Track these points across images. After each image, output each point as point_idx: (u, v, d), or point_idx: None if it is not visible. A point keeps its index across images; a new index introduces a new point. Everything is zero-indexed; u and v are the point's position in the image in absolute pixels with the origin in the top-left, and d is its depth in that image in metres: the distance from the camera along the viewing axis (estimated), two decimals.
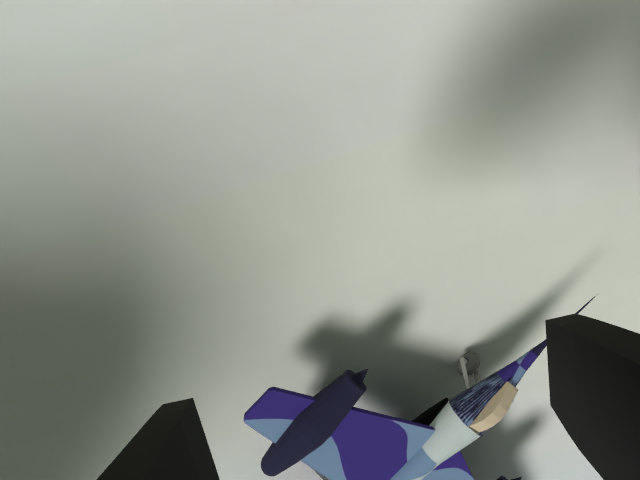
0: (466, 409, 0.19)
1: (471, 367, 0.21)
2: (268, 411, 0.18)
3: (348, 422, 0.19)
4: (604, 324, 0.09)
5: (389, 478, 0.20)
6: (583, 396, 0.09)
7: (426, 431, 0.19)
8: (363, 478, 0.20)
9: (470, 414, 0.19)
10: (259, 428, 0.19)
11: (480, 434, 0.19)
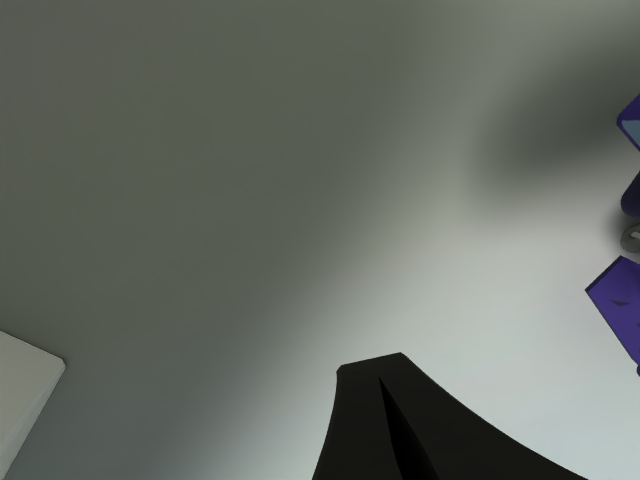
0: None
1: None
2: None
3: None
4: (410, 367, 0.09)
5: None
6: (392, 439, 0.09)
7: None
8: None
9: None
10: (639, 136, 0.13)
11: None
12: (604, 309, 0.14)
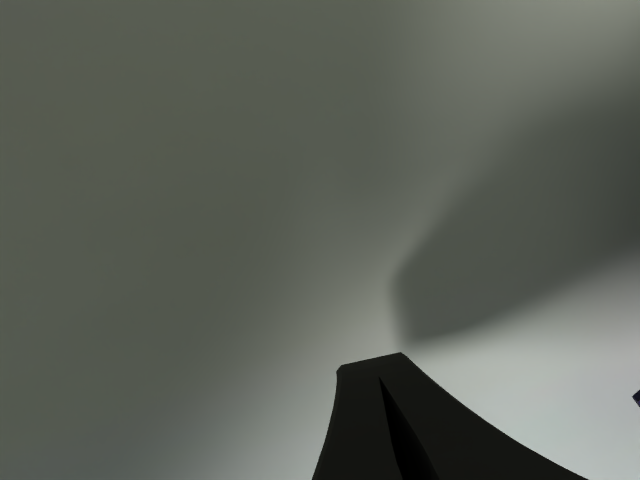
0: None
1: None
2: None
3: None
4: (410, 367, 0.09)
5: None
6: (392, 439, 0.09)
7: None
8: None
9: None
10: None
11: None
12: None
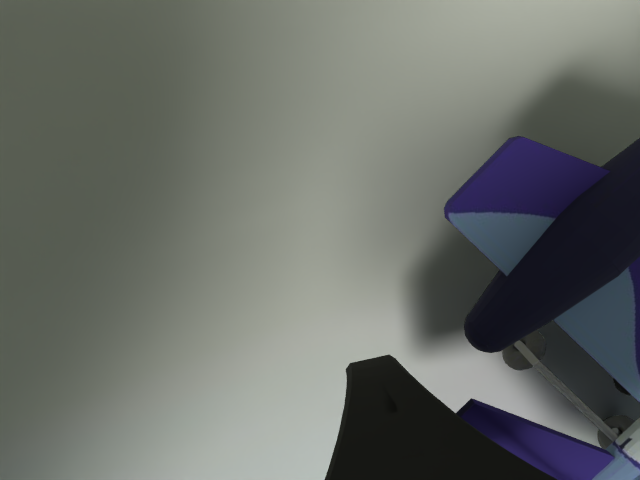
0: None
1: None
2: (505, 193, 0.08)
3: None
4: (398, 371, 0.09)
5: None
6: None
7: None
8: None
9: None
10: (478, 236, 0.08)
11: None
12: None
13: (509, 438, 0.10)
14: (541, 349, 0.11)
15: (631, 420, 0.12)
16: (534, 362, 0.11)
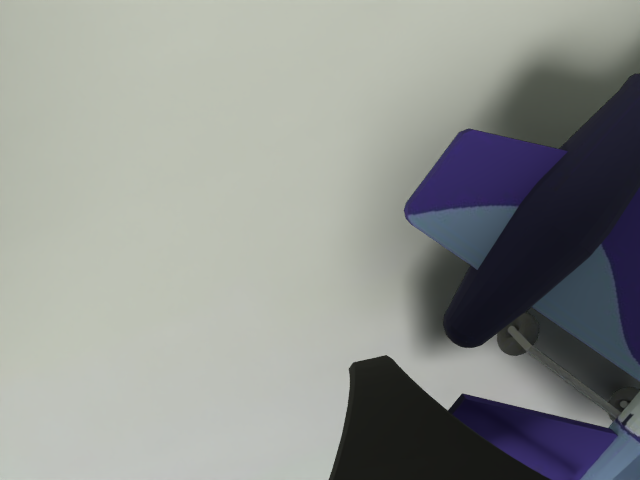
0: None
1: None
2: (462, 188, 0.08)
3: None
4: (394, 371, 0.09)
5: None
6: None
7: None
8: None
9: None
10: (441, 234, 0.08)
11: None
12: None
13: (506, 429, 0.10)
14: (533, 332, 0.11)
15: (639, 391, 0.12)
16: (527, 347, 0.11)
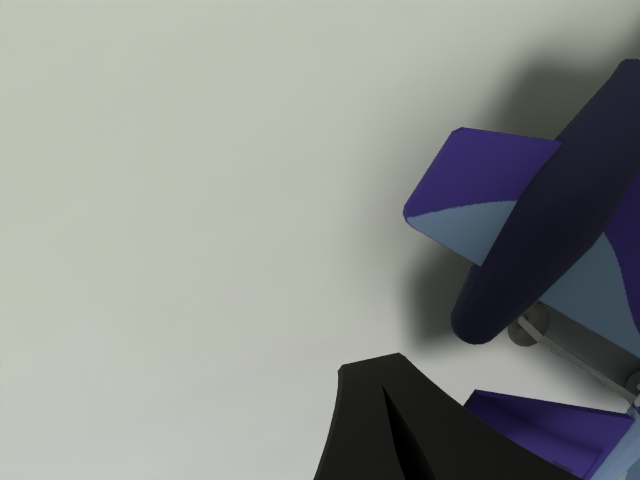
0: None
1: None
2: (459, 187, 0.08)
3: None
4: (408, 368, 0.09)
5: None
6: None
7: None
8: None
9: None
10: (441, 234, 0.08)
11: None
12: None
13: (522, 421, 0.10)
14: (544, 323, 0.11)
15: None
16: (538, 338, 0.11)
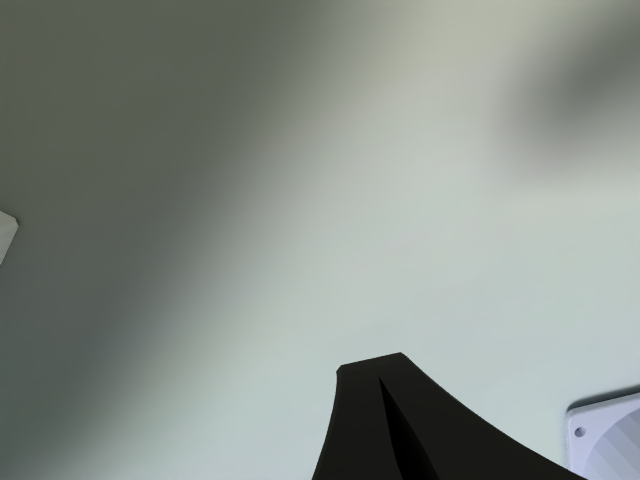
0: None
1: None
2: None
3: None
4: (410, 368, 0.09)
5: None
6: (392, 439, 0.09)
7: None
8: None
9: None
10: None
11: None
12: None
13: None
14: None
15: None
16: None
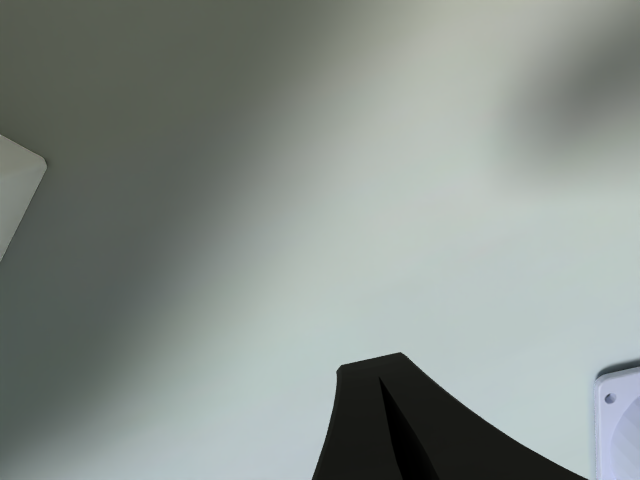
0: None
1: None
2: None
3: None
4: (410, 367, 0.09)
5: None
6: (392, 439, 0.09)
7: None
8: None
9: None
10: None
11: None
12: None
13: None
14: None
15: None
16: None
